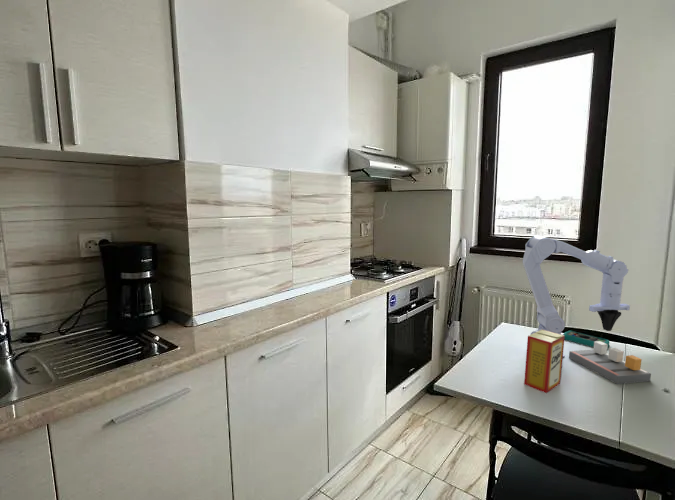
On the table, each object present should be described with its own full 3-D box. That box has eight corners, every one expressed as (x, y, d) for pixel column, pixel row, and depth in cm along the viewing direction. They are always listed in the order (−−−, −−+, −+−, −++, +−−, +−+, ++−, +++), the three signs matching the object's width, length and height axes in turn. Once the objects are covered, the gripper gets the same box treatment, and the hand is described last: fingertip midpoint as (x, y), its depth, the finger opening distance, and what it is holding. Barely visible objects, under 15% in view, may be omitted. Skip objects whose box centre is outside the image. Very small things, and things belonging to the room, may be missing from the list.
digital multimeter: (567, 335, 152) (568, 329, 152) (609, 346, 141) (610, 339, 140) (560, 339, 148) (561, 332, 147) (603, 351, 136) (604, 344, 136)
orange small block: (633, 370, 114) (635, 359, 113) (624, 366, 117) (626, 355, 116) (640, 369, 114) (641, 359, 113) (631, 365, 117) (632, 355, 116)
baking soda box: (546, 393, 105) (550, 341, 103) (524, 384, 111) (527, 334, 108) (560, 383, 111) (564, 334, 109) (538, 375, 116) (542, 328, 114)
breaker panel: (617, 383, 111) (619, 364, 110) (568, 357, 129) (570, 340, 129) (650, 381, 113) (652, 361, 112) (597, 355, 131) (599, 338, 130)
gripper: (602, 296, 122) (598, 335, 123) (639, 295, 124) (635, 332, 126) (585, 291, 129) (582, 328, 130) (620, 290, 131) (616, 326, 132)
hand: (607, 330), depth 128 cm, fingers closed
